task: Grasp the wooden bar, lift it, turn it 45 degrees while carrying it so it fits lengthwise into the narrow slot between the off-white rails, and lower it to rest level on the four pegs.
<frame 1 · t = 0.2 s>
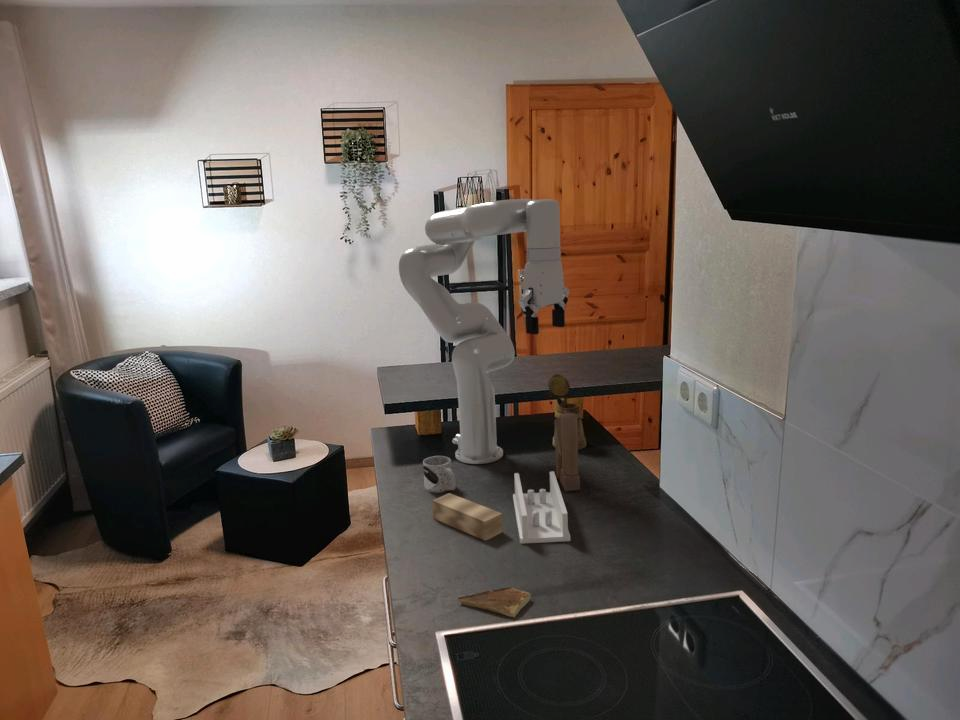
hand: (545, 330, 172), 37 cm above the countertop, tool pointing down, fingers open, 9 cm apart
wooden block: (567, 483, 178), on the countertop
wooden bar: (467, 526, 158), on the countertop
shard: (497, 610, 127), on the countertop
mug: (442, 489, 177), on the countertop
peg stand: (539, 518, 160), on the countertop
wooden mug: (566, 443, 204), on the countertop
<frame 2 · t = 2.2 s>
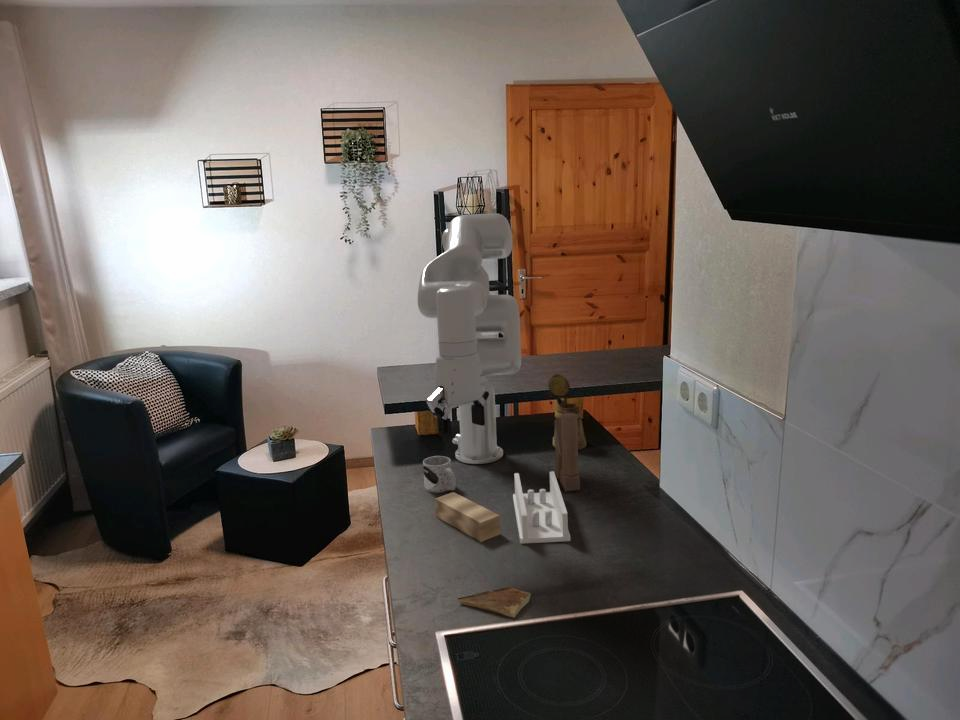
hand: (462, 430, 153), 21 cm above the countertop, tool pointing down, fingers open, 9 cm apart
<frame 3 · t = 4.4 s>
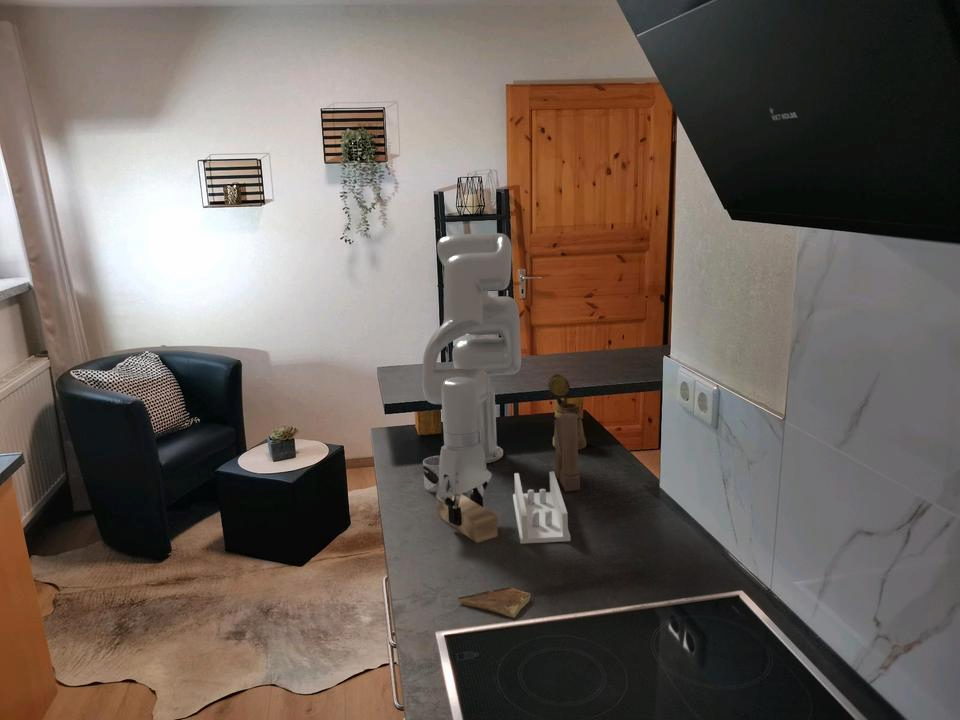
hand: (466, 517, 157), 2 cm above the countertop, tool pointing down, fingers closed on wooden bar, 5 cm apart
wooden bar: (466, 525, 158), on the countertop, touching gripper
everything else where it was.
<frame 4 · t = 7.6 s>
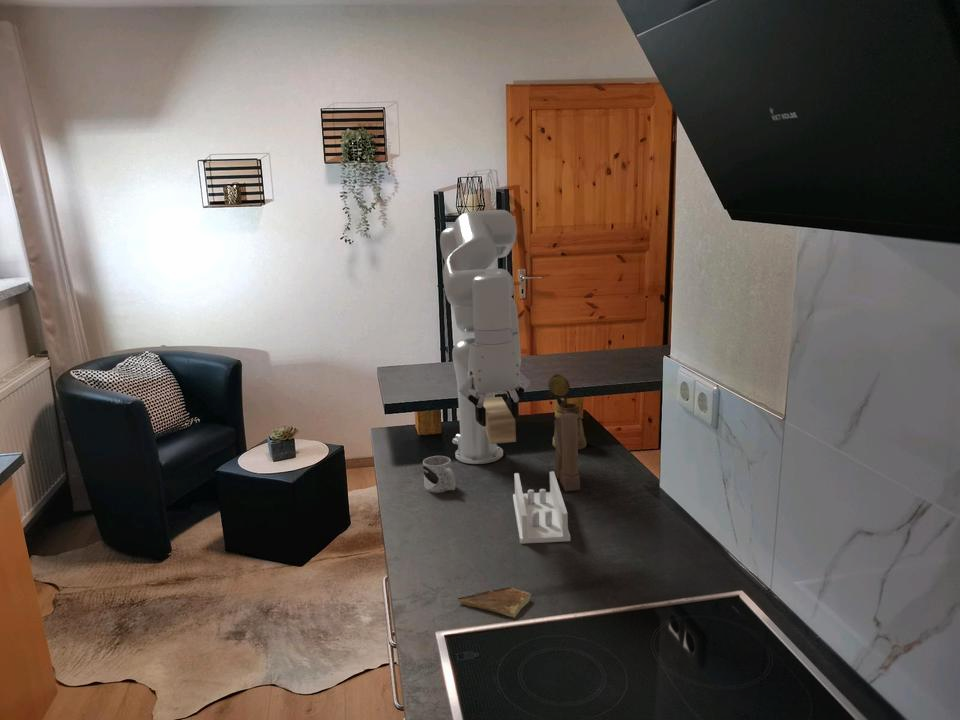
hand: (496, 421, 154), 22 cm above the countertop, tool pointing down, fingers closed on wooden bar, 5 cm apart
wooden bar: (496, 429, 154), point 21 cm above the countertop, touching gripper
everything else where it was.
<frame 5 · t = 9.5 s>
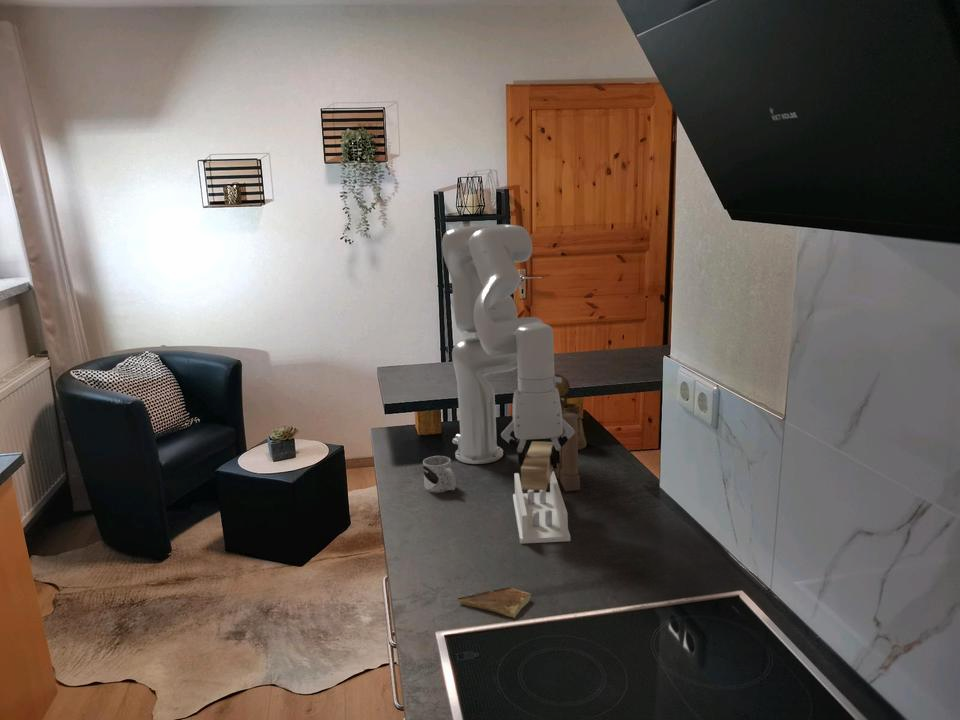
hand: (538, 466, 157), 12 cm above the countertop, tool pointing down, fingers closed on wooden bar, 5 cm apart
wooden bar: (539, 474, 157), point 10 cm above the countertop, touching gripper
everything else where it was.
when the fingers open (8 cm above the countertop, at t = 10.8 s): wooden bar stays where it is, resting on peg stand.
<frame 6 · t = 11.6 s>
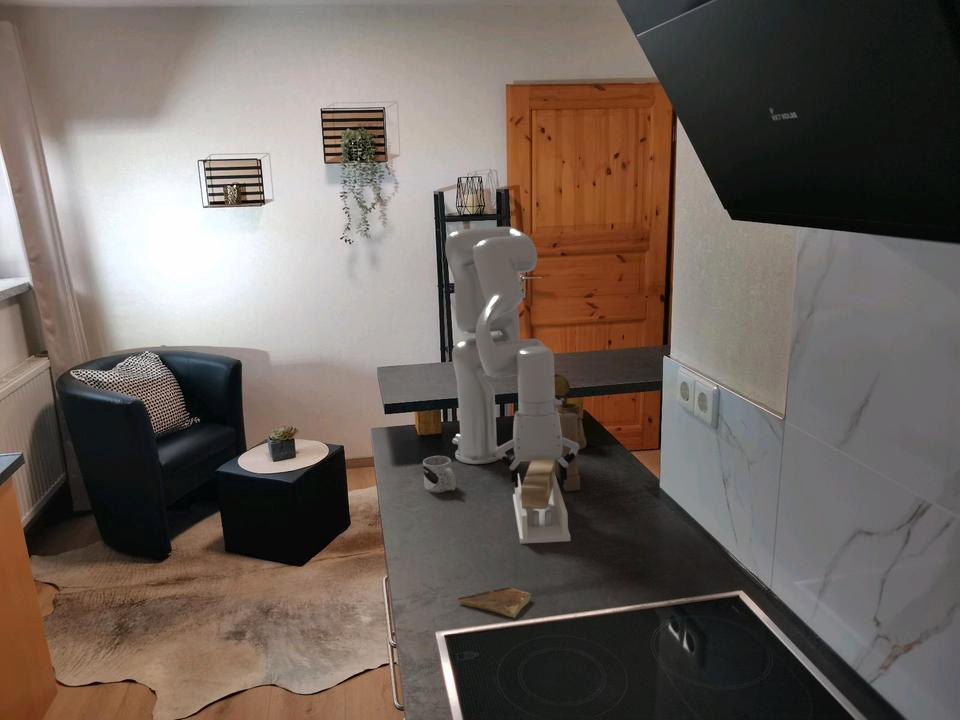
hand: (538, 484, 158), 8 cm above the countertop, tool pointing down, fingers open, 9 cm apart
wooden bar: (539, 492, 158), point 6 cm above the countertop, touching peg stand
everything else where it was.
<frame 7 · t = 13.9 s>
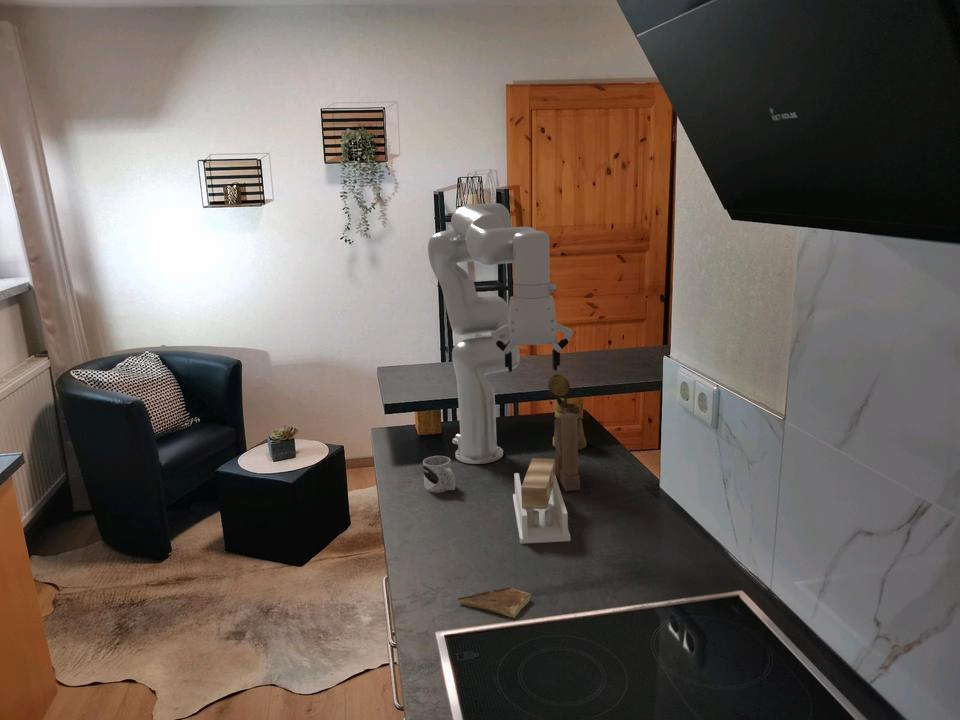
hand: (532, 369, 161), 31 cm above the countertop, tool pointing down, fingers open, 9 cm apart
nothing on the countertop moved.
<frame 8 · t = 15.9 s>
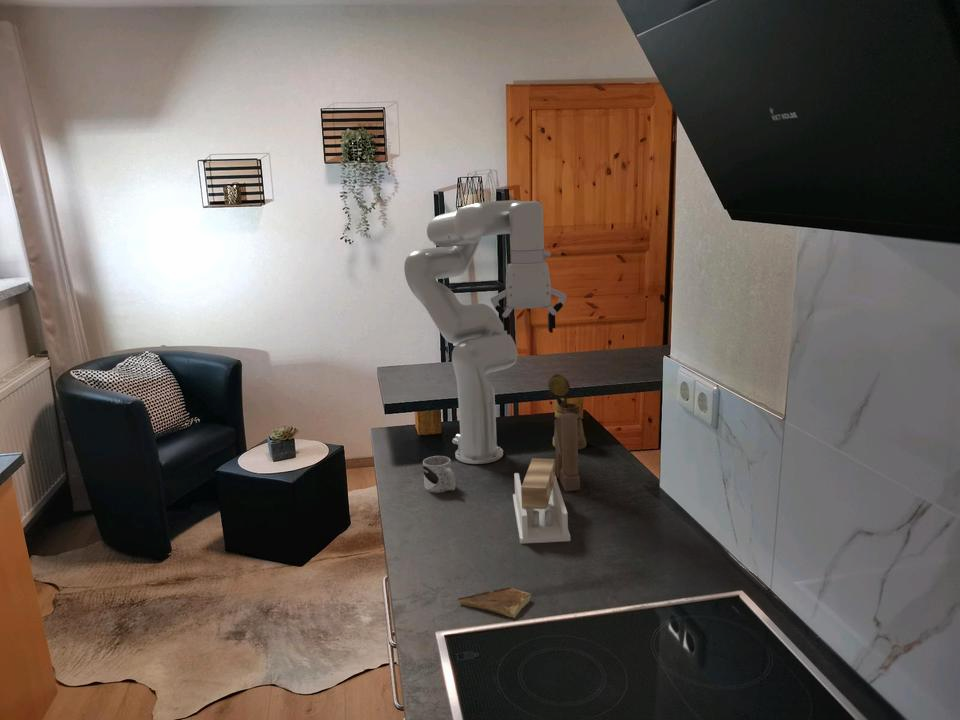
hand: (529, 332, 171), 36 cm above the countertop, tool pointing down, fingers open, 9 cm apart
nothing on the countertop moved.
at the end: wooden bar 0.2 cm off-centre on the peg stand, point 6.0 cm above the peg stand's base; wooden bar tilted 0°; the gripper is holding nothing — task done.
